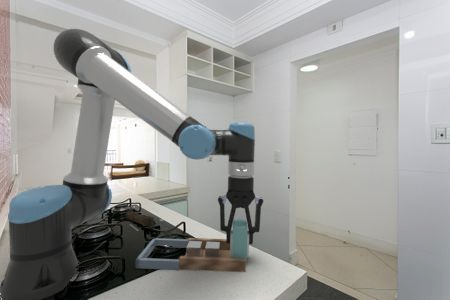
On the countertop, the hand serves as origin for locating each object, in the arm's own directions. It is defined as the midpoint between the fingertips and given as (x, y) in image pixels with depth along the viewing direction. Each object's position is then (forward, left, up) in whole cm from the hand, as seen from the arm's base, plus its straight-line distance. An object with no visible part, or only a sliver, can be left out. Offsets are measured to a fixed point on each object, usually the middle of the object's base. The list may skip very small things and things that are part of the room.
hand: (239, 253), depth 63 cm
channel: (-7, 0, -3) cm, 8 cm away
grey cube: (-13, 0, -2) cm, 13 cm away
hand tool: (-42, +28, -3) cm, 50 cm away
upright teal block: (0, 0, -1) cm, 1 cm away
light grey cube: (-8, 0, -2) cm, 8 cm away
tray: (-22, 0, -3) cm, 23 cm away
